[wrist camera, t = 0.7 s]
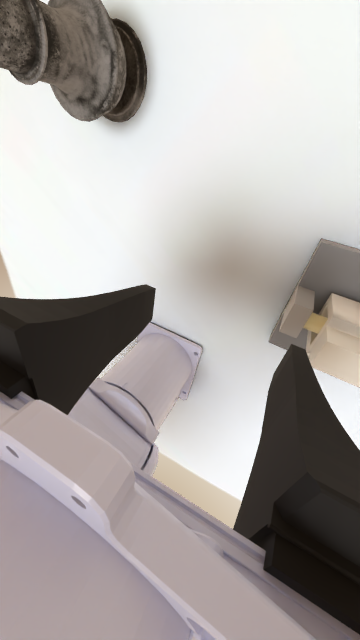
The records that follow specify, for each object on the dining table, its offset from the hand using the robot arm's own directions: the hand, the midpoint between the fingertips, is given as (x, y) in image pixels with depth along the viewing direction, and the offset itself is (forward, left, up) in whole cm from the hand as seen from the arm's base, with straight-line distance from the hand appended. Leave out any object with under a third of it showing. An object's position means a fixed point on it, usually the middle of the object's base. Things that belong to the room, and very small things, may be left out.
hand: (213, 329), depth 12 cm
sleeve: (-1, -8, -8) cm, 11 cm away
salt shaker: (+10, +14, -10) cm, 20 cm away
